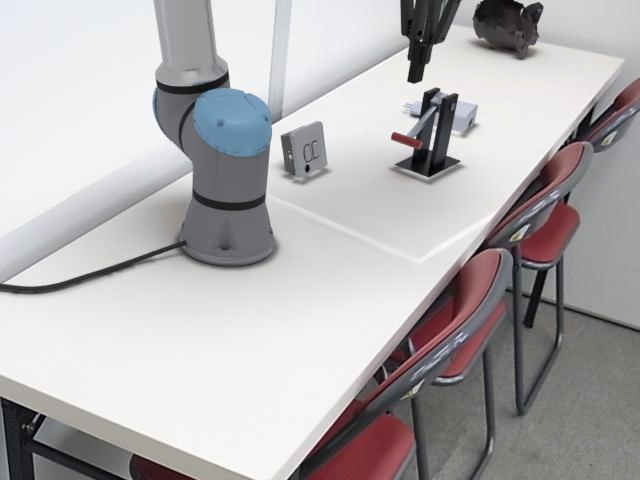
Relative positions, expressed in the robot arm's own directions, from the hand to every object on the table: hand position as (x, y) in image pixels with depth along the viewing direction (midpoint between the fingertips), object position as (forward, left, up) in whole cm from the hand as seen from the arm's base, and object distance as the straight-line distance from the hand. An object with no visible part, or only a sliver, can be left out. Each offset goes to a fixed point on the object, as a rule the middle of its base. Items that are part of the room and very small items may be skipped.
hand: (414, 81), depth 162 cm
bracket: (+10, +1, -19) cm, 22 cm away
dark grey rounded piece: (+94, +41, -19) cm, 104 cm away
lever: (+6, 0, -9) cm, 11 cm away
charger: (+32, +15, -19) cm, 40 cm away
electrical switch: (-12, +13, -19) cm, 26 cm away
